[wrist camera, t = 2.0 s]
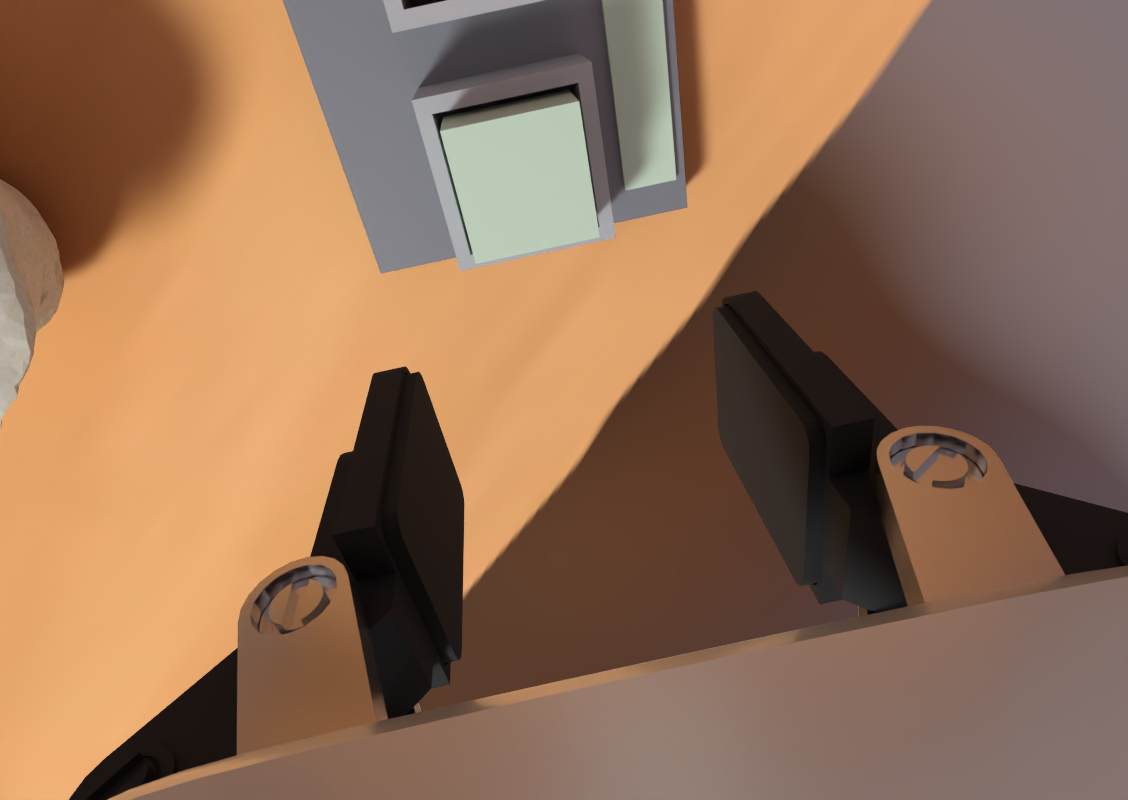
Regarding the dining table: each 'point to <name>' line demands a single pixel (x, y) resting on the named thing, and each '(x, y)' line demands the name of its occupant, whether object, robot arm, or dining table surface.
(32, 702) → the dining table surface
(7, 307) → the bowl
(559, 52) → the button board
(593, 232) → the green button
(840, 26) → the dining table surface
